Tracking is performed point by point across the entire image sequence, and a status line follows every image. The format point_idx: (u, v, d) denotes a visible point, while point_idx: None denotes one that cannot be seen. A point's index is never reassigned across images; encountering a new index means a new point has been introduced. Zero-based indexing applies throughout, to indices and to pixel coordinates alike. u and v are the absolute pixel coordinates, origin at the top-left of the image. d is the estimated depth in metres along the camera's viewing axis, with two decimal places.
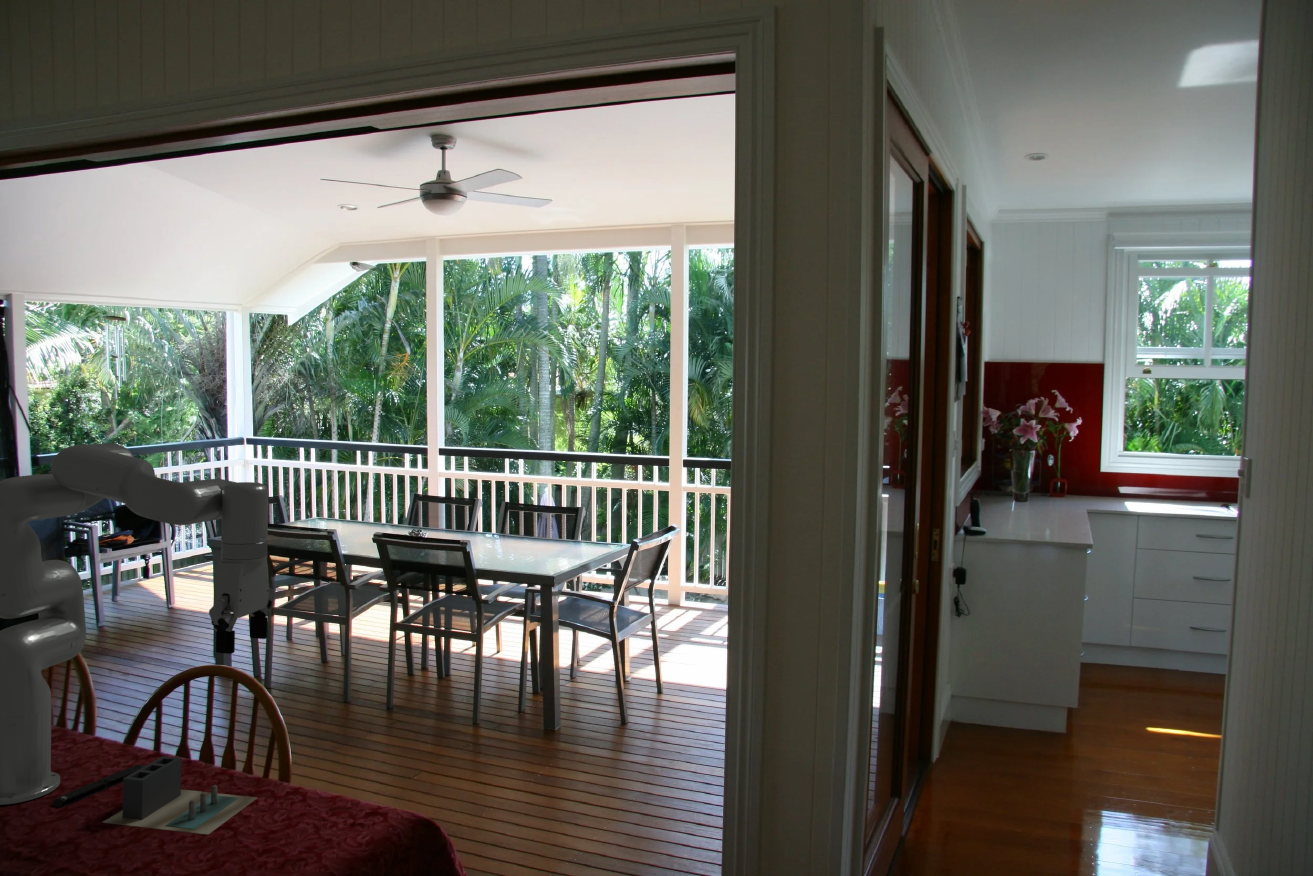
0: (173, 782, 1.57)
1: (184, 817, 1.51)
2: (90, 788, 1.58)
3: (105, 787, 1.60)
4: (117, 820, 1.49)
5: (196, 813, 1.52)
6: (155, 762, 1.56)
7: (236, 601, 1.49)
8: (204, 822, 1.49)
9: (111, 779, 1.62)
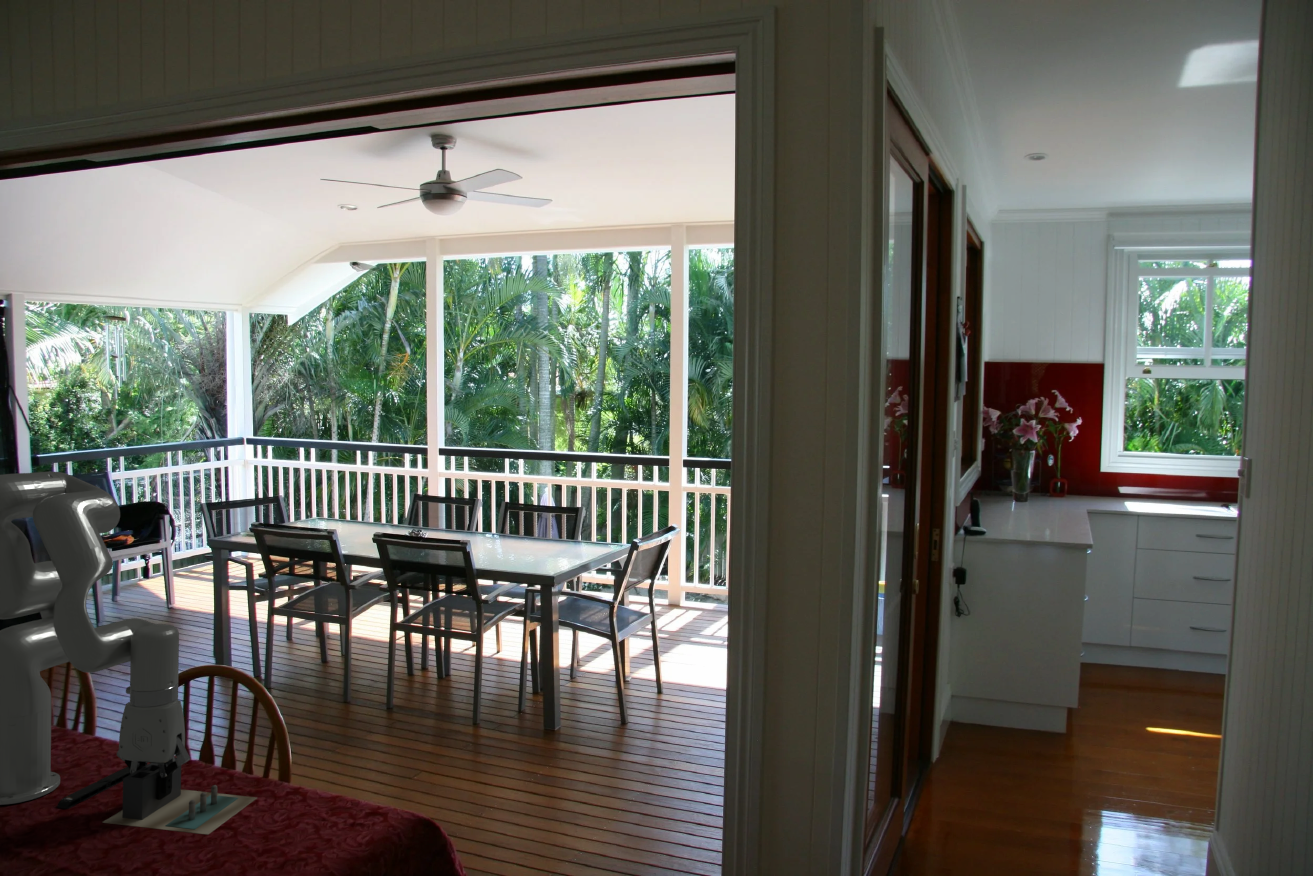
0: (173, 782, 1.57)
1: (184, 817, 1.51)
2: (93, 788, 1.58)
3: (106, 787, 1.60)
4: (117, 820, 1.49)
5: (196, 813, 1.52)
6: None
7: (184, 737, 1.55)
8: (204, 822, 1.49)
9: (111, 779, 1.62)
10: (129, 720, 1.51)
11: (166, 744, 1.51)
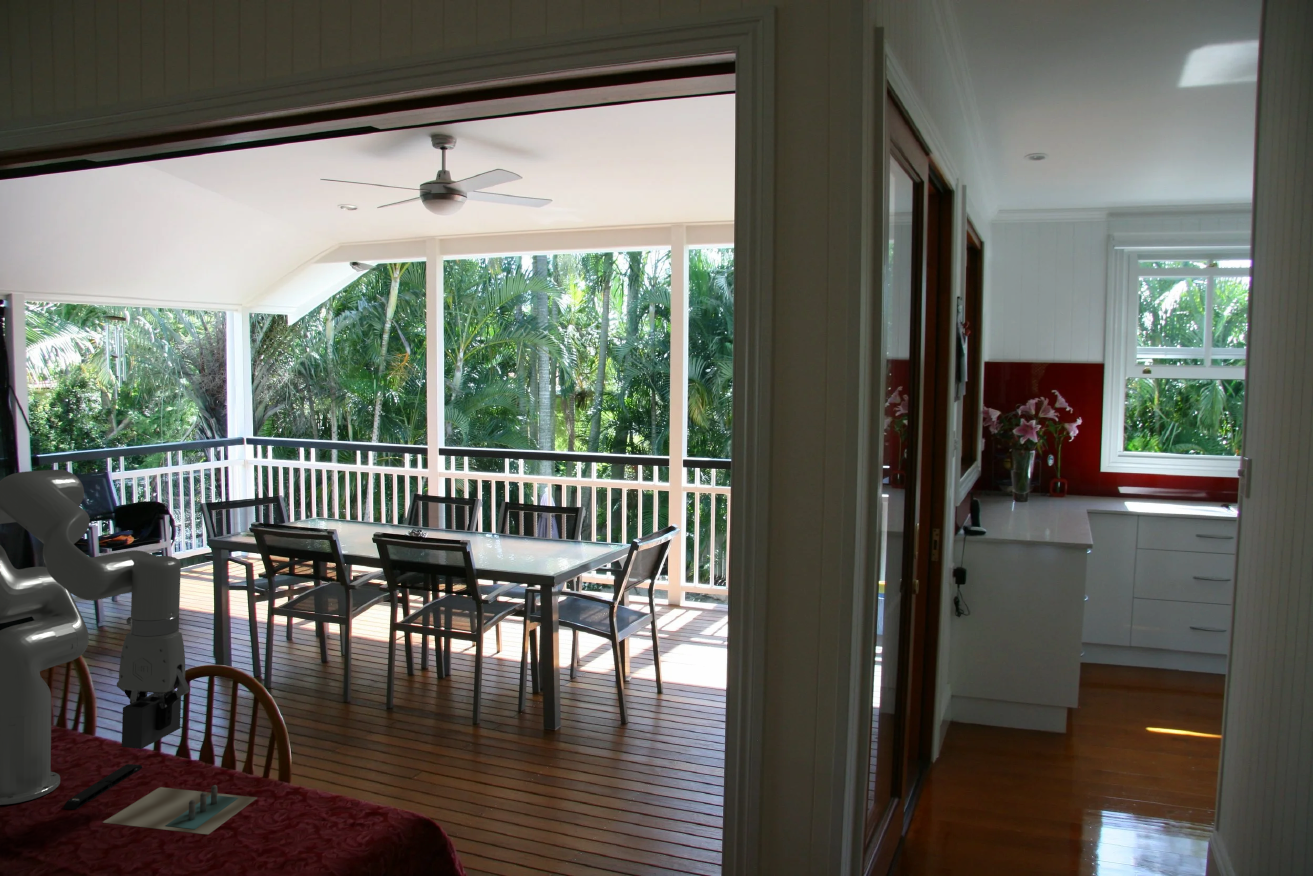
0: (173, 714, 1.56)
1: (184, 817, 1.51)
2: (96, 789, 1.58)
3: (108, 787, 1.60)
4: (117, 820, 1.49)
5: (196, 813, 1.52)
6: (155, 694, 1.56)
7: None
8: (204, 822, 1.49)
9: (112, 779, 1.62)
10: (129, 650, 1.51)
11: (166, 674, 1.50)
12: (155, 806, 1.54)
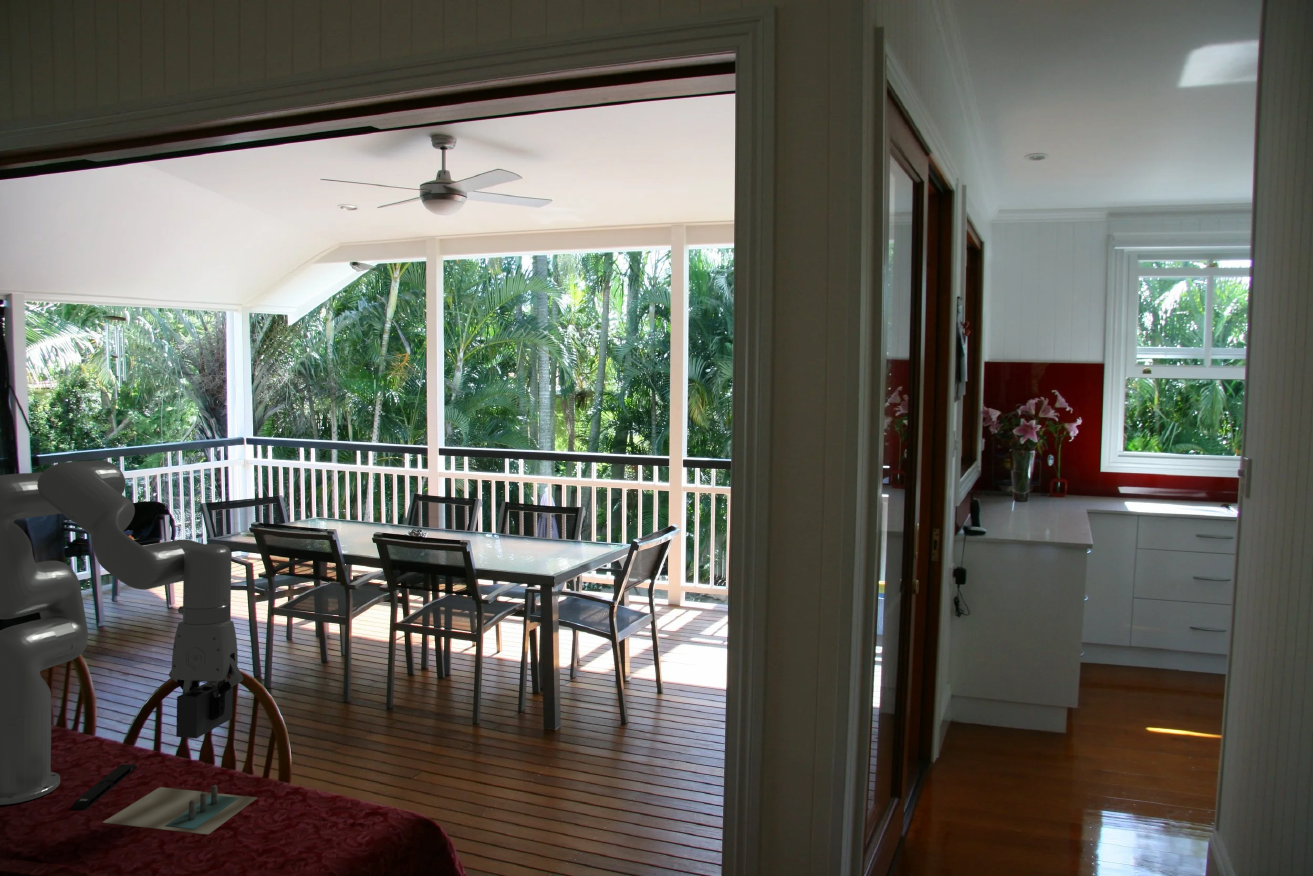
0: (225, 704, 1.55)
1: (184, 817, 1.51)
2: (101, 789, 1.58)
3: (110, 786, 1.60)
4: (117, 820, 1.49)
5: (196, 813, 1.52)
6: (207, 684, 1.54)
7: None
8: (204, 822, 1.49)
9: (112, 779, 1.62)
10: (182, 639, 1.50)
11: (220, 662, 1.49)
12: (155, 806, 1.54)
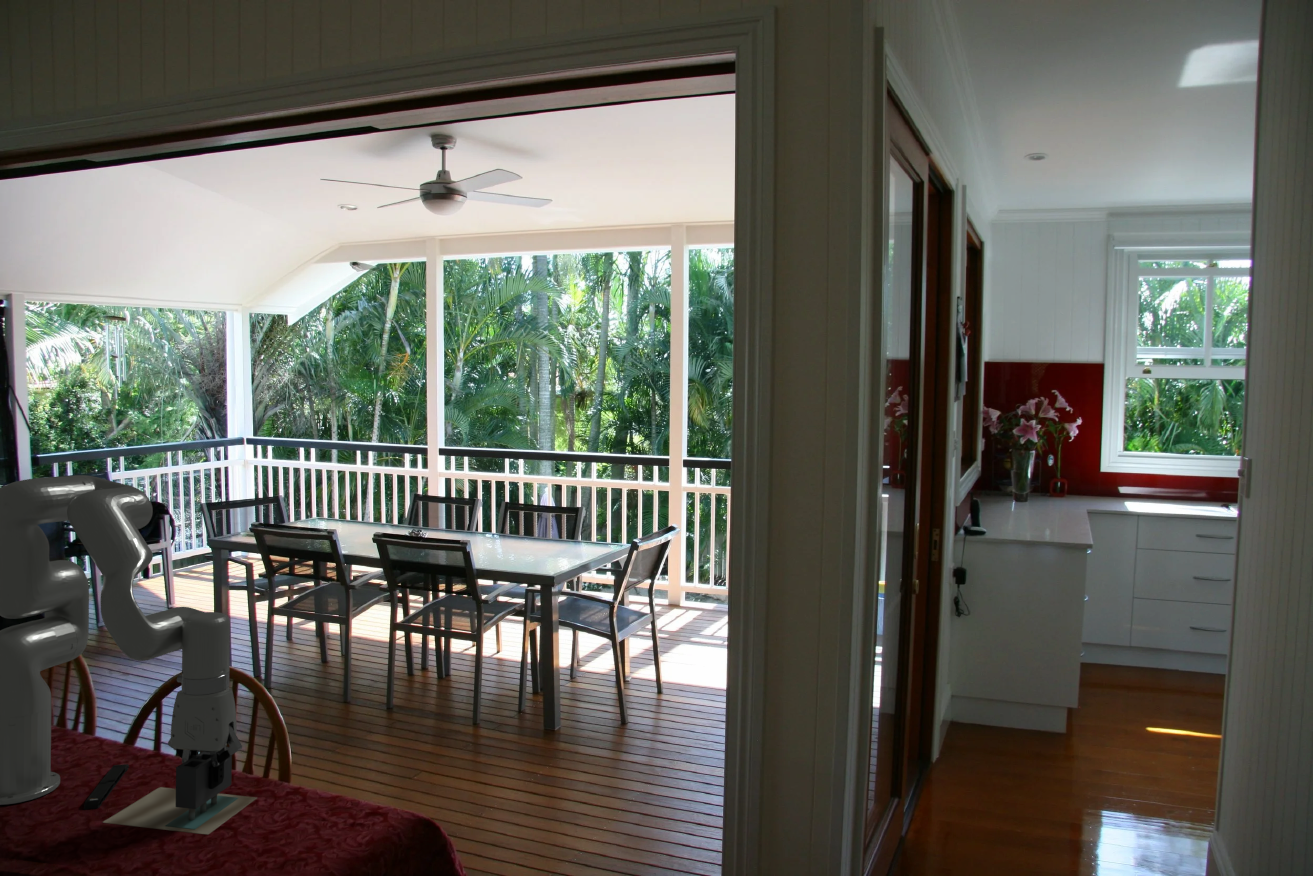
0: (224, 771, 1.55)
1: (184, 817, 1.51)
2: (106, 788, 1.58)
3: (113, 786, 1.61)
4: (117, 820, 1.49)
5: (196, 813, 1.52)
6: None
7: None
8: (204, 822, 1.49)
9: (113, 778, 1.62)
10: (181, 708, 1.50)
11: (219, 732, 1.49)
12: (155, 806, 1.54)
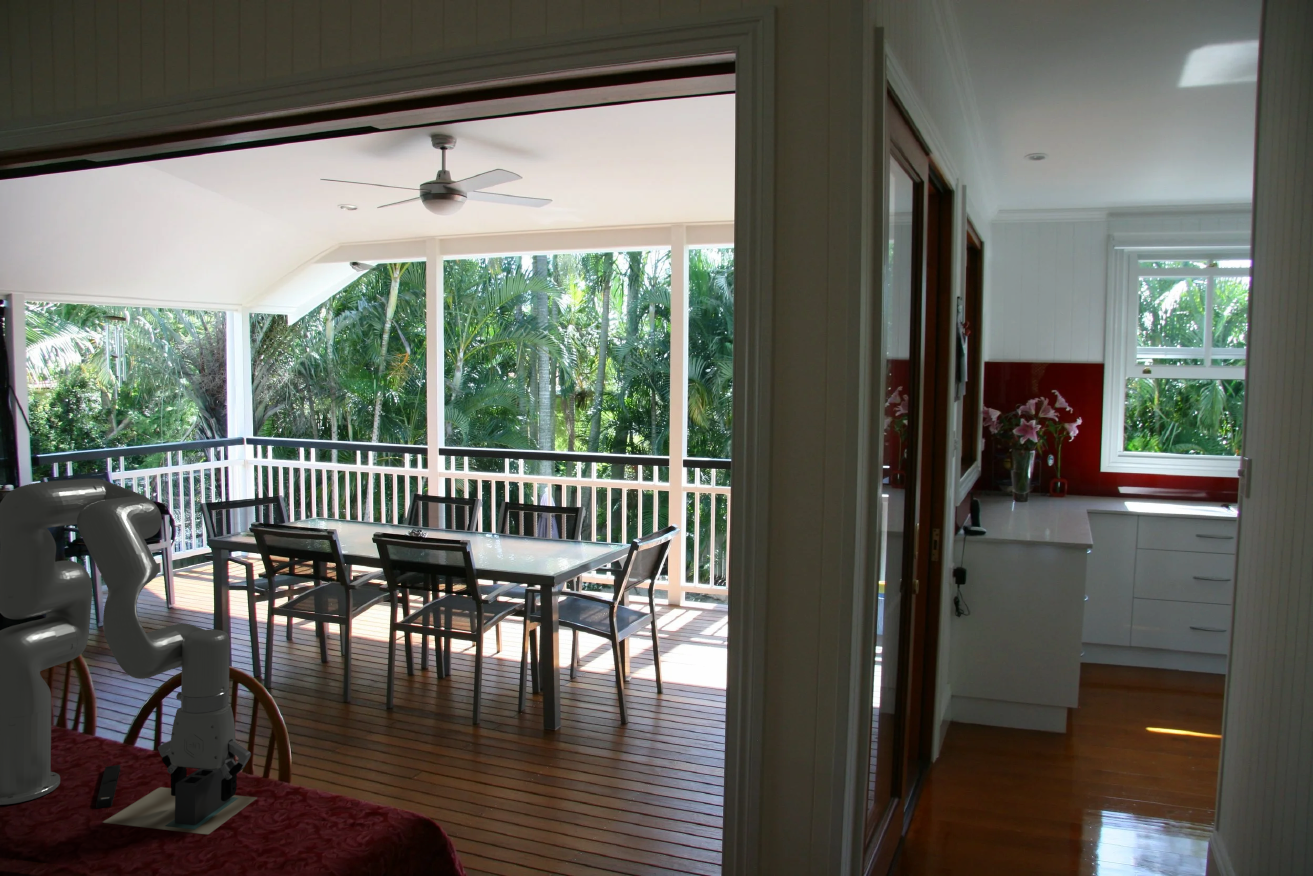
0: None
1: None
2: (112, 787, 1.58)
3: (115, 785, 1.61)
4: (117, 820, 1.49)
5: None
6: None
7: None
8: (204, 822, 1.49)
9: (113, 778, 1.62)
10: (180, 726, 1.50)
11: (218, 750, 1.49)
12: (155, 806, 1.54)
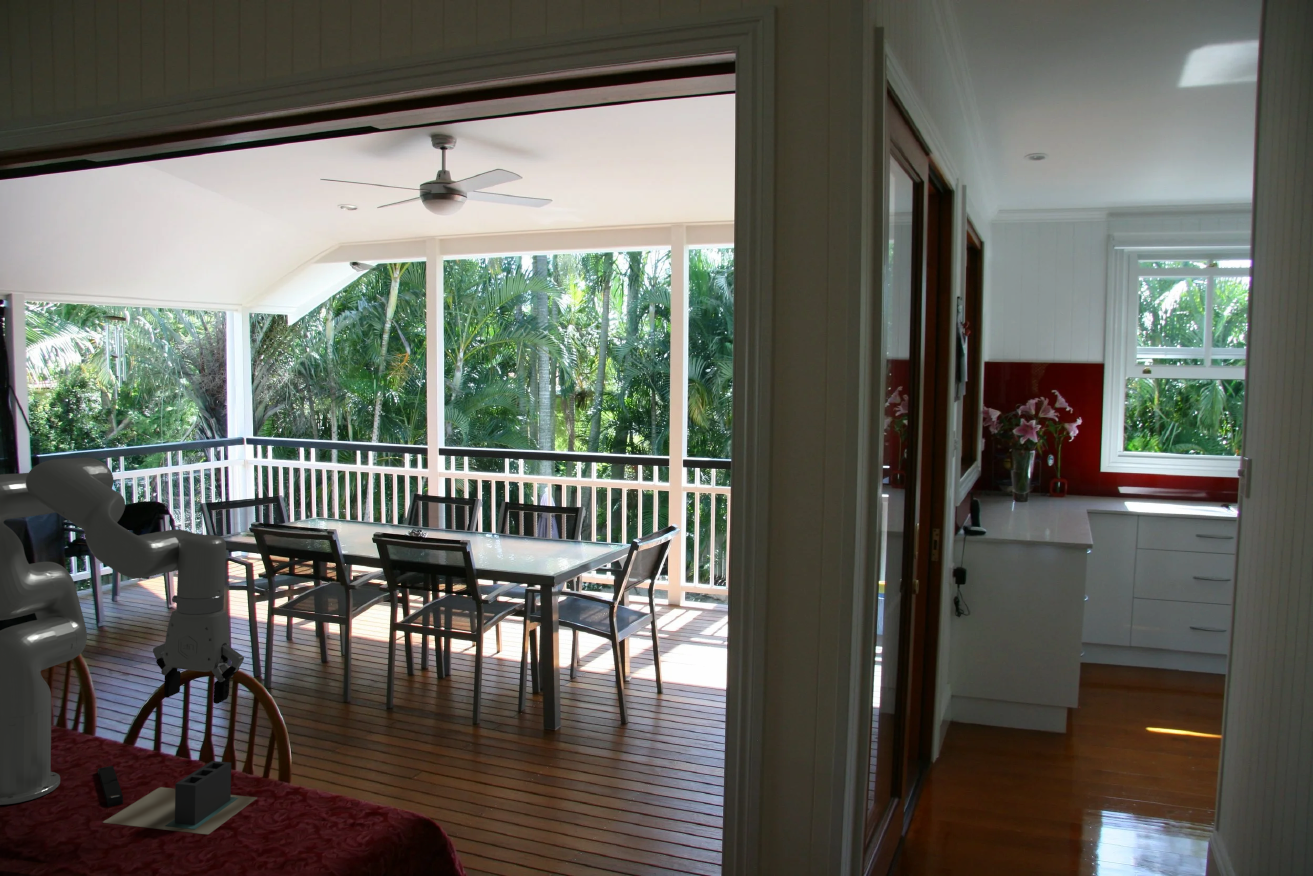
0: (224, 786, 1.55)
1: None
2: (117, 786, 1.59)
3: None
4: (117, 820, 1.49)
5: None
6: (205, 767, 1.55)
7: None
8: (204, 822, 1.49)
9: (114, 778, 1.62)
10: (175, 627, 1.51)
11: (211, 652, 1.51)
12: (155, 806, 1.54)
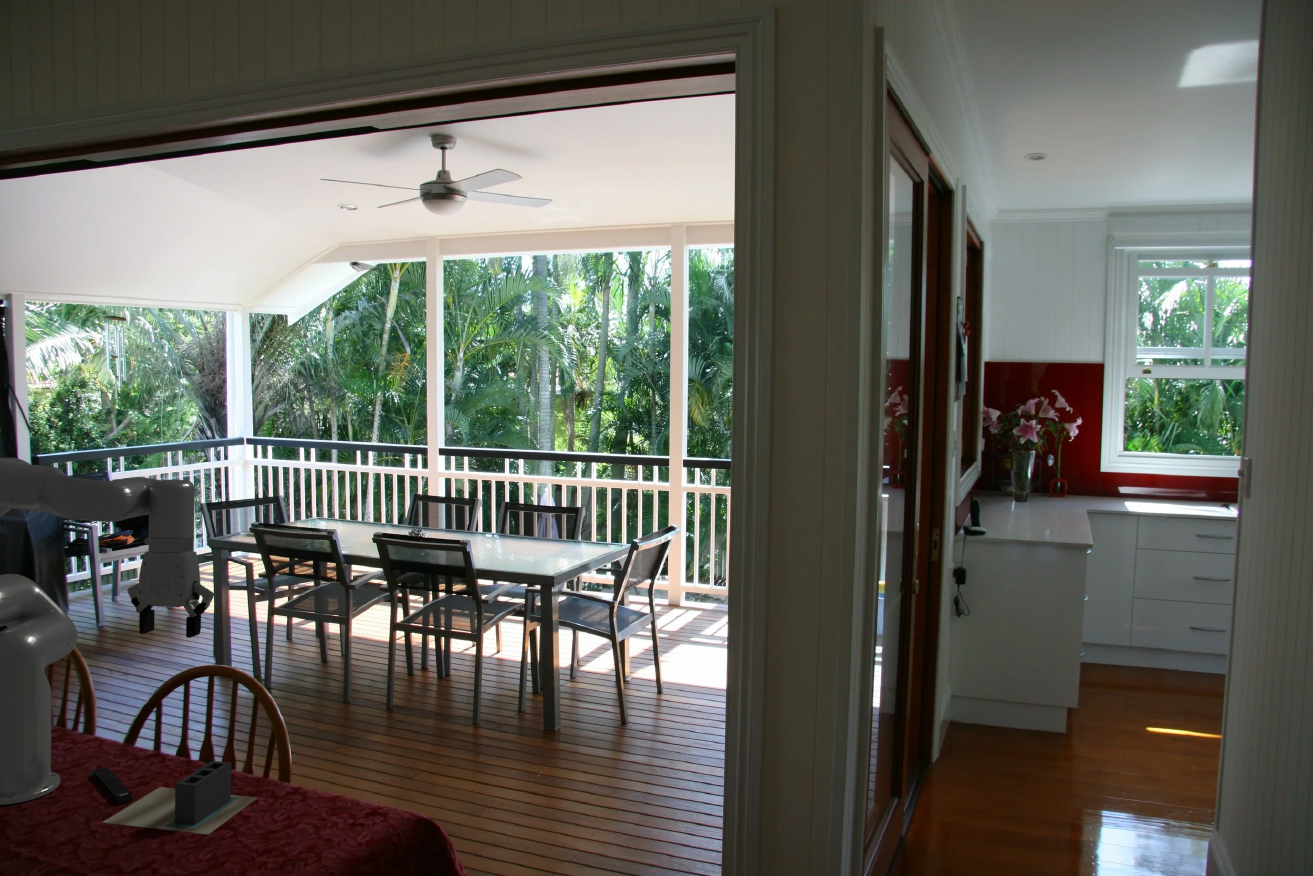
0: (224, 786, 1.55)
1: None
2: (121, 785, 1.60)
3: None
4: (117, 820, 1.49)
5: None
6: (205, 767, 1.55)
7: None
8: (204, 822, 1.49)
9: (114, 778, 1.62)
10: (148, 566, 1.60)
11: (183, 588, 1.59)
12: (155, 806, 1.54)
